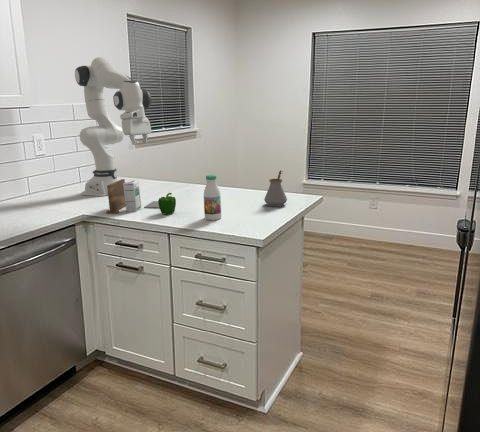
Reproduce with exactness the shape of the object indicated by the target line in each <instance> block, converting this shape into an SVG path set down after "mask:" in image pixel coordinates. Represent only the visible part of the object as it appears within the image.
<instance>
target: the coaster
mask: <svg viewBox="0 0 480 432" xmlns="http://www.w3.org/2000/svg"><path fill="white" fill-rule="evenodd" d="M144 209H160V208H159V204H158V200H154V201H151V202H150V203H148V204H146V205H145V206H144Z"/></svg>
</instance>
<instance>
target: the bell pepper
mask: <svg viewBox="0 0 480 432" xmlns="http://www.w3.org/2000/svg"><path fill="white" fill-rule="evenodd" d="M172 194H173V193H172V192H168V193H167V194H166V196H161V197H160V198H158V200H157V201H158V204H159V208H158V209H159V210H160V213H161V214H164V215H166V216H167V215H172V214H173V213H175V211H176V205H177V202H176V201H177V199H176V196H171V195H172Z"/></svg>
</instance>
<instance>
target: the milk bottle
mask: <svg viewBox="0 0 480 432" xmlns="http://www.w3.org/2000/svg"><path fill="white" fill-rule="evenodd" d="M205 179H206V185H205V188H204V189H203V190H204V191H203V211H204V219H205V220H208V221H217V220H220V219H221V218H222V202H221V199H222V198H221V190H220V188H219V186H218V184H217V175H216V174H206V176H205Z"/></svg>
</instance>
